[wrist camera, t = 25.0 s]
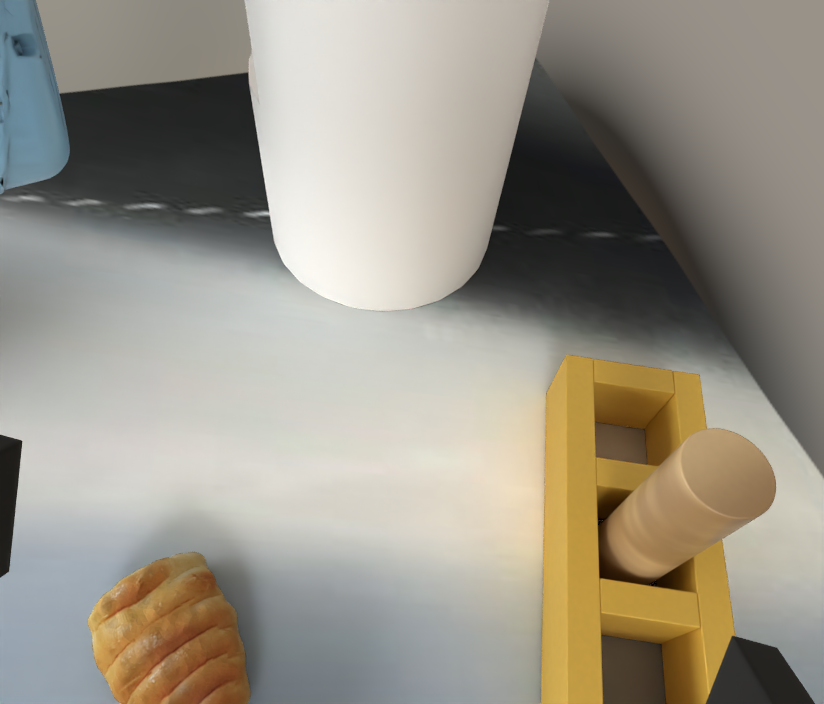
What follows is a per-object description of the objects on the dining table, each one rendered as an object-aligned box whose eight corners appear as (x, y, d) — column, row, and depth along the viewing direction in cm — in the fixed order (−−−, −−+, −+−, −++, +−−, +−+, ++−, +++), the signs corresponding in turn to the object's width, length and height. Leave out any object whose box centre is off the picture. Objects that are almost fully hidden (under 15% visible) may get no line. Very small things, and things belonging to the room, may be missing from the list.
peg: (566, 550, 38) (659, 455, 26) (615, 517, 40) (724, 412, 28) (611, 611, 36) (731, 538, 25) (660, 573, 38) (797, 487, 26)
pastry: (287, 694, 33) (279, 687, 30) (165, 792, 30) (142, 796, 27) (199, 548, 37) (184, 527, 33) (84, 624, 34) (55, 610, 31)
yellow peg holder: (539, 767, 32) (567, 767, 28) (546, 393, 44) (566, 354, 40) (705, 793, 32) (758, 797, 28) (667, 411, 44) (700, 374, 40)
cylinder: (531, 259, 51) (681, -179, 27) (336, 346, 45) (314, -113, 21) (417, 130, 58) (457, -300, 35) (237, 191, 52) (140, -275, 29)
